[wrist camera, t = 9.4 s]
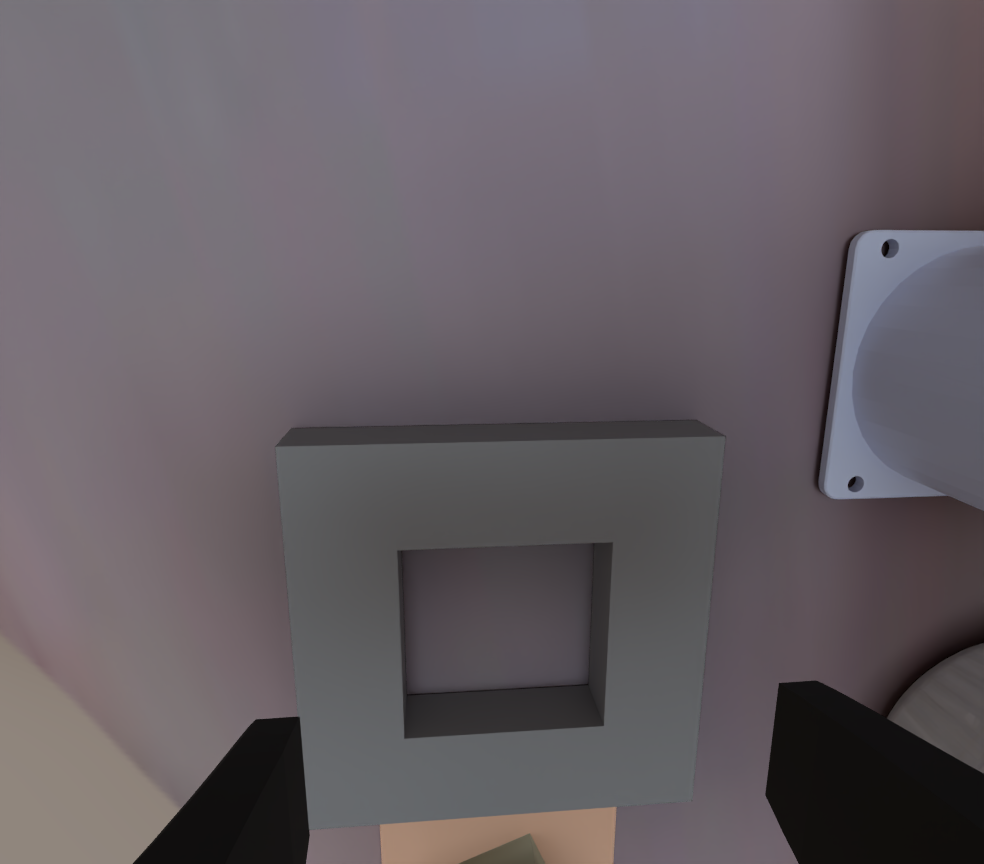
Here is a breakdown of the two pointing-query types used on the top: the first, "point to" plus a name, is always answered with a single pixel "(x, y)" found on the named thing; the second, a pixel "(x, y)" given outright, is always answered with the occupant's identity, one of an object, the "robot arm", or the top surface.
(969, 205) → the top surface
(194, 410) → the top surface
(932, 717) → the ramekin
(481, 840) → the coaster
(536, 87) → the top surface
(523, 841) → the sage block
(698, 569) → the pocket board
